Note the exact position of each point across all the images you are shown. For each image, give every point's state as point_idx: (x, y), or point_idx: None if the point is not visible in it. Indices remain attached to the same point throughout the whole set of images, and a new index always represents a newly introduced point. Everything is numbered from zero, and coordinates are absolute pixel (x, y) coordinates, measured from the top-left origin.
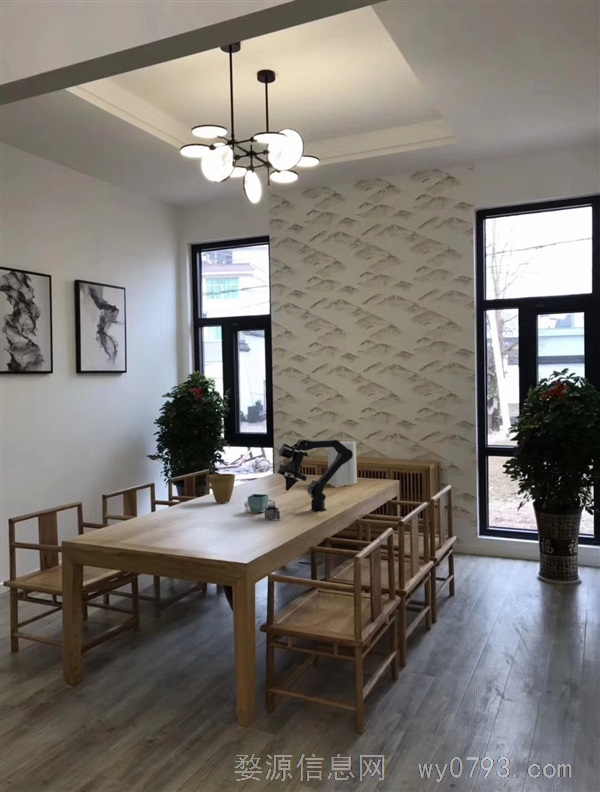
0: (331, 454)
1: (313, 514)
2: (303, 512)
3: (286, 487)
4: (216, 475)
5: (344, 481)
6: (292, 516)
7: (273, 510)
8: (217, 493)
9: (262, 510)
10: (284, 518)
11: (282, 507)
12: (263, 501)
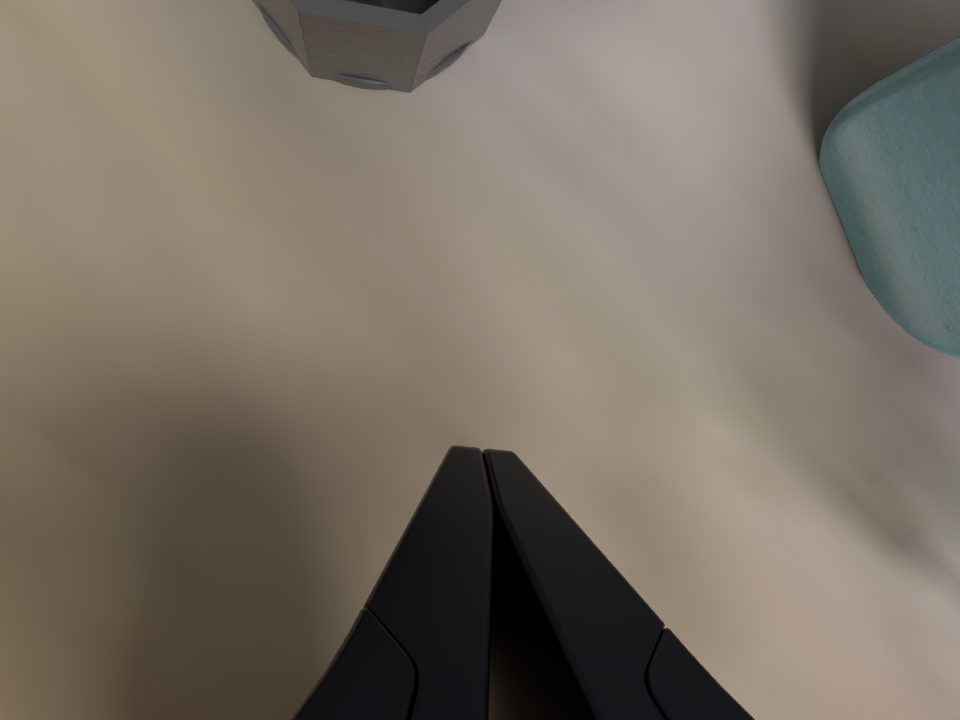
0: None
1: (39, 658)
2: (310, 646)
3: (498, 505)
4: None
5: None
6: (216, 314)
7: None
8: None
9: (831, 172)
10: (204, 110)
11: (845, 660)
12: (921, 133)
